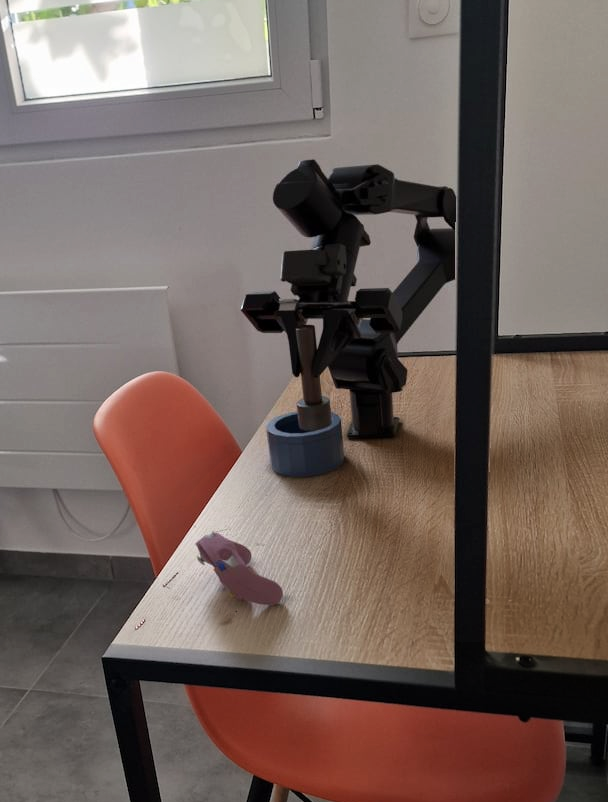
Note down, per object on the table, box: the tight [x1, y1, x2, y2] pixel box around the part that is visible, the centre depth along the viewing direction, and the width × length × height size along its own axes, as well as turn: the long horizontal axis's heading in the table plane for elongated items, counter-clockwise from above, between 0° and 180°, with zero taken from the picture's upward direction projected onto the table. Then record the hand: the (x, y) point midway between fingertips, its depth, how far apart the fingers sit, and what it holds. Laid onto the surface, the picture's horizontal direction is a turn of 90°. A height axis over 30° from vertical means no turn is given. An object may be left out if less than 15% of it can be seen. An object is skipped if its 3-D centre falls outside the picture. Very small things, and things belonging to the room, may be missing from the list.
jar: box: [265, 410, 345, 478], centre depth 106 cm, size 9×9×6 cm
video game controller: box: [195, 530, 284, 606], centre depth 79 cm, size 10×5×7 cm, turn 21°
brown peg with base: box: [295, 324, 332, 431], centre depth 97 cm, size 4×4×12 cm
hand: (304, 376), depth 96 cm, fingers closed on brown peg with base, 2 cm apart
